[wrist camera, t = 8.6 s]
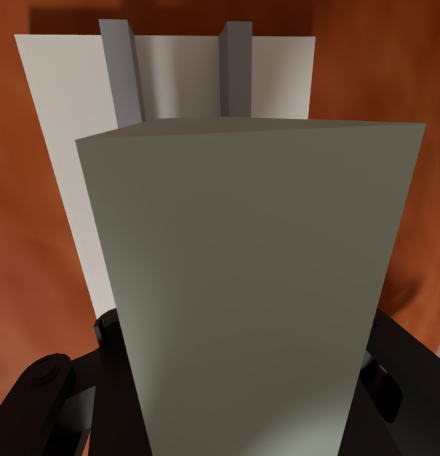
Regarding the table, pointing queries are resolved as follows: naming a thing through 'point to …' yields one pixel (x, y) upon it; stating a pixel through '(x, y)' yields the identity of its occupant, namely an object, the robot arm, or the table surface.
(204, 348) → the door panel
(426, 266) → the table surface
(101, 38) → the track base
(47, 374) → the robot arm
